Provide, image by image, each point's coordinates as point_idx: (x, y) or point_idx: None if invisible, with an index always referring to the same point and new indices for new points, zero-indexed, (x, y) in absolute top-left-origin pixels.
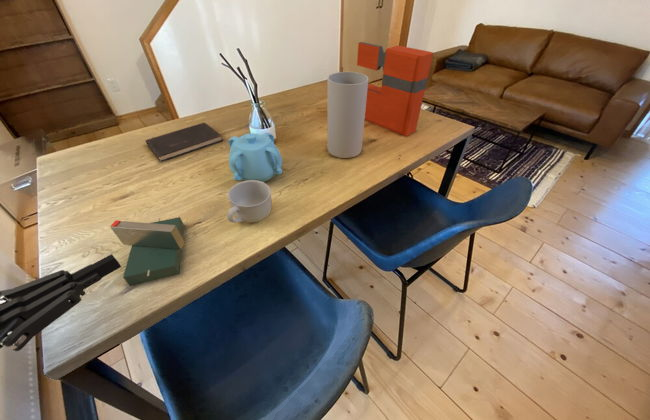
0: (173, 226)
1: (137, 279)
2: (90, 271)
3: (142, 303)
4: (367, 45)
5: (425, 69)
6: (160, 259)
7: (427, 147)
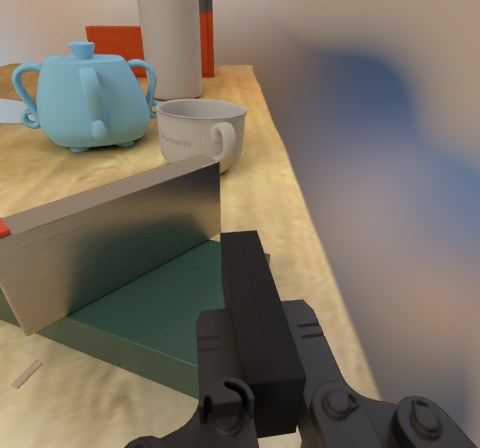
0: (203, 155)
1: None
2: (280, 304)
3: None
4: None
5: None
6: (218, 270)
7: (248, 78)
